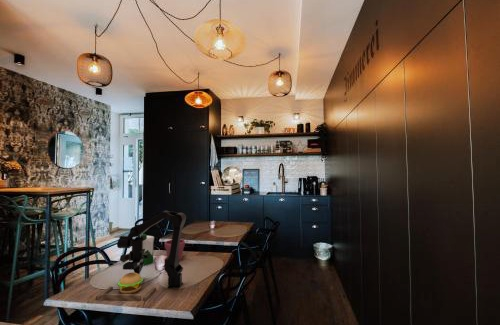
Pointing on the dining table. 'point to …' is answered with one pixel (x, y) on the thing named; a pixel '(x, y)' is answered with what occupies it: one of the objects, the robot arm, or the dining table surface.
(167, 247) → the plant pot
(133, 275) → the hamburger
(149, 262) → the milk carton
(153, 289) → the frame
